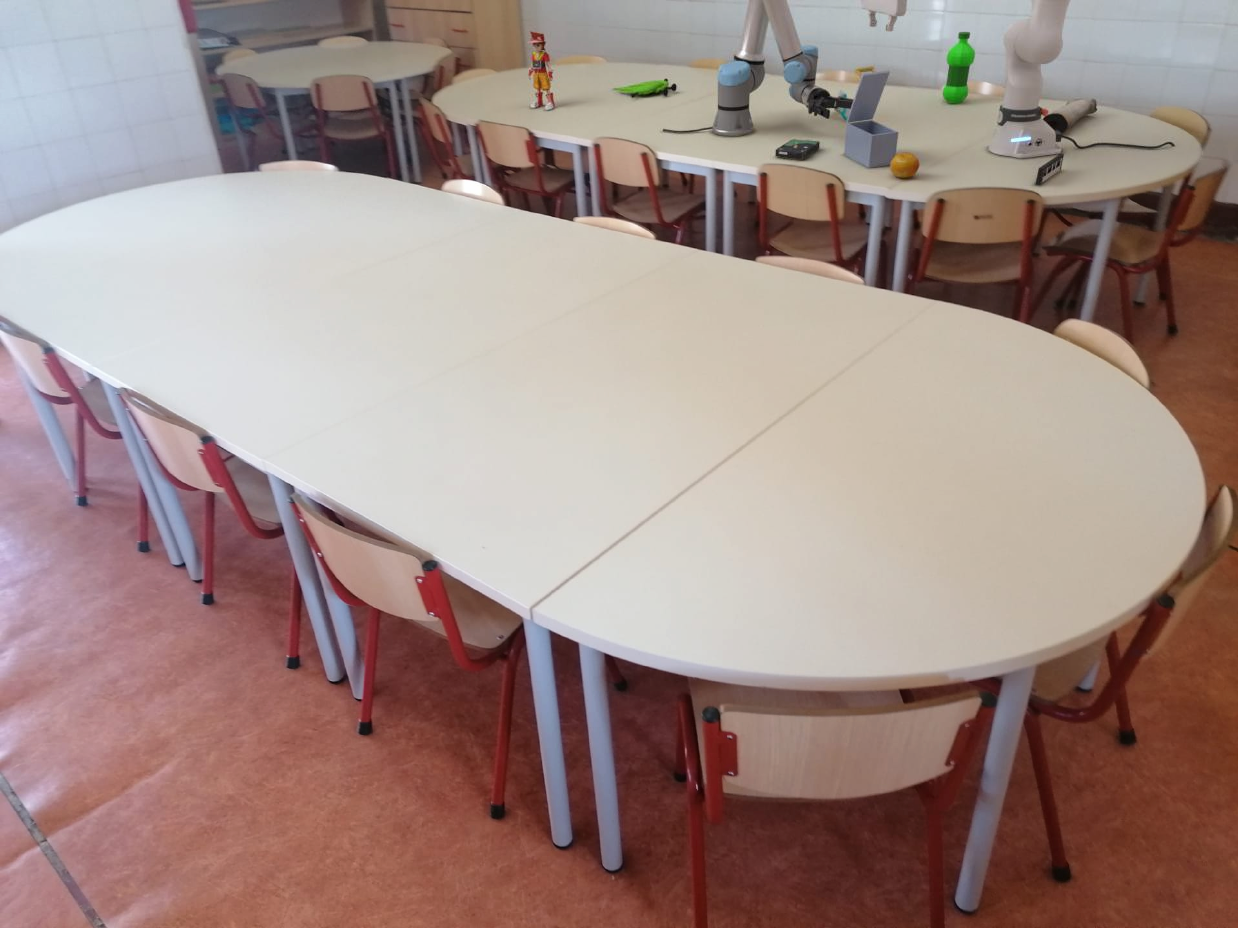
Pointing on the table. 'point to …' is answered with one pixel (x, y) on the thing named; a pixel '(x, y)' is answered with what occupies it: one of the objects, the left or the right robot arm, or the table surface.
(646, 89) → the toy
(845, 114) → the anatomical model
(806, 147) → the disk drive
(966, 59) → the plastic bottle
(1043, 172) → the midi keyboard
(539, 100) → the toy
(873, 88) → the lid
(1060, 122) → the rolled mat
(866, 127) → the chest
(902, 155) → the fruit
